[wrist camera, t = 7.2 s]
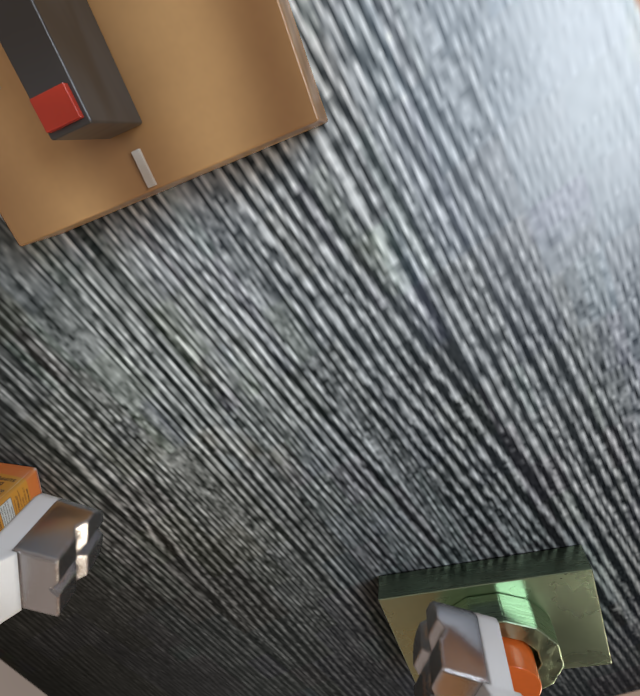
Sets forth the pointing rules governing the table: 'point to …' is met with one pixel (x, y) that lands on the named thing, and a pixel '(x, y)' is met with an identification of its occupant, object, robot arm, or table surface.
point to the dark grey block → (66, 69)
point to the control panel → (160, 109)
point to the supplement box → (16, 490)
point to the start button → (522, 667)
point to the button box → (510, 605)
